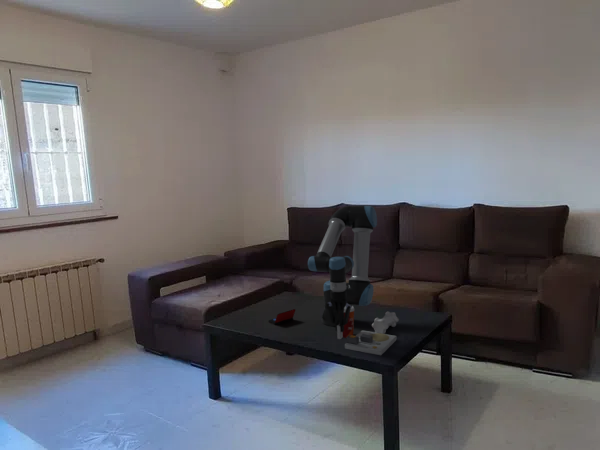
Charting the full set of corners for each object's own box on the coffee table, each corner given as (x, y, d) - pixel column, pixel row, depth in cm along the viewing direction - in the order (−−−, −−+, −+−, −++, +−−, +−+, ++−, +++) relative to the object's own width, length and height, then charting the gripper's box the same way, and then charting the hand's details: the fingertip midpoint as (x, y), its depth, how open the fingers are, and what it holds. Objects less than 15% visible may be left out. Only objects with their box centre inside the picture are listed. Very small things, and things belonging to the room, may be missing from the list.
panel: (344, 348, 214) (344, 338, 213) (362, 334, 231) (362, 324, 230) (381, 355, 205) (380, 344, 204) (396, 339, 221) (396, 330, 221)
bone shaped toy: (385, 325, 244) (383, 310, 244) (400, 326, 239) (398, 311, 238) (371, 333, 232) (370, 318, 232) (387, 335, 227) (385, 319, 226)
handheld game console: (285, 317, 263) (285, 304, 263) (296, 321, 255) (296, 308, 254) (267, 322, 256) (266, 309, 255) (278, 327, 247) (277, 314, 247)
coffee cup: (354, 339, 225) (353, 309, 223) (338, 338, 227) (337, 309, 225) (356, 332, 233) (355, 304, 231) (340, 332, 235) (339, 304, 233)
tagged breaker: (346, 343, 214) (346, 336, 214) (349, 341, 217) (349, 334, 216) (356, 345, 212) (356, 338, 211) (359, 342, 214) (358, 336, 214)
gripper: (322, 290, 215) (324, 338, 218) (347, 293, 208) (348, 342, 211) (330, 286, 221) (331, 333, 224) (354, 289, 214) (355, 337, 217)
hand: (340, 337), depth 217 cm, fingers closed
